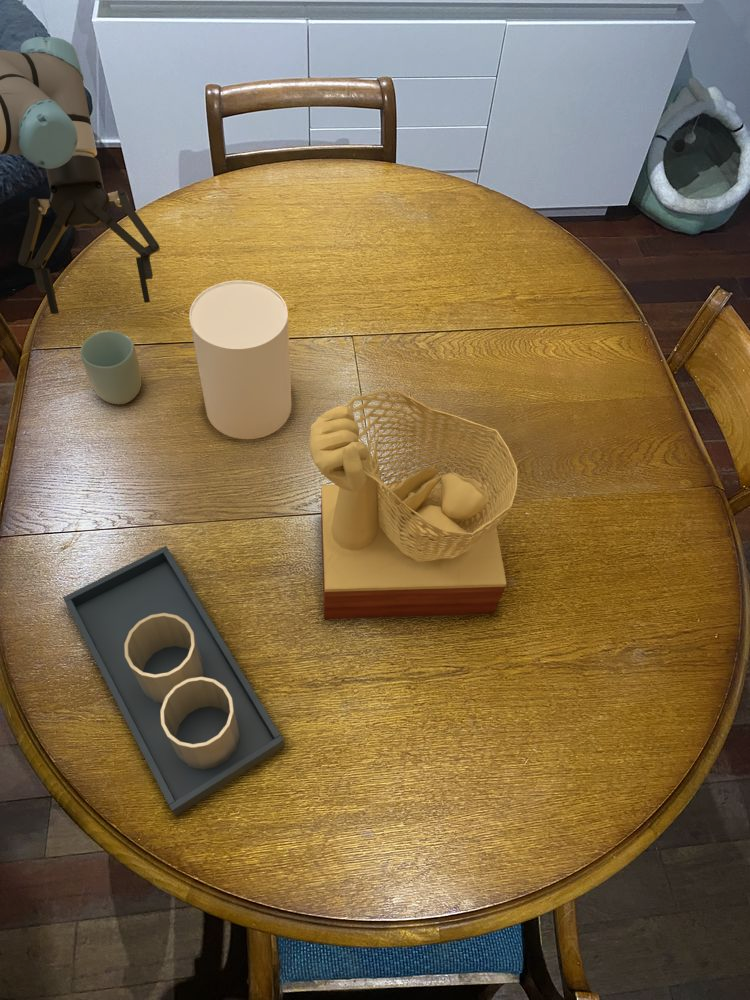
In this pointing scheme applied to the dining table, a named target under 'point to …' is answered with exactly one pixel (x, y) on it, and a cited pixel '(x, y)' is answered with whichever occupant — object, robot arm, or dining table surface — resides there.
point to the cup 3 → (186, 701)
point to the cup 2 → (155, 637)
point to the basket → (409, 515)
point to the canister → (243, 357)
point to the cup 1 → (112, 366)
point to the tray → (105, 627)
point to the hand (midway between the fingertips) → (101, 308)
